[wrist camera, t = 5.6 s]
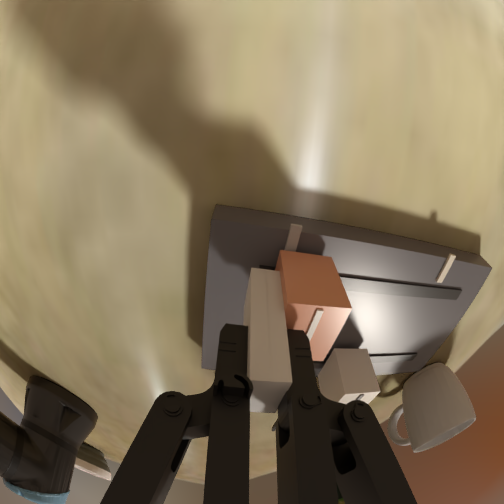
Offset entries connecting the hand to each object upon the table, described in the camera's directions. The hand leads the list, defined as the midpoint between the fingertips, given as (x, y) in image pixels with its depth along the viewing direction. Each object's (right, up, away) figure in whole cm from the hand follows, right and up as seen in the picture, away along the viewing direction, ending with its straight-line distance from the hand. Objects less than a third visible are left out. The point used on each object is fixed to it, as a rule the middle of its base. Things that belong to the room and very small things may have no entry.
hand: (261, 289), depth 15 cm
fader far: (+7, -7, +6) cm, 12 cm away
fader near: (+2, 0, +1) cm, 3 cm away
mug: (+22, -16, +15) cm, 31 cm away
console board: (+8, -3, +6) cm, 10 cm away
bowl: (-55, -63, +44) cm, 95 cm away
